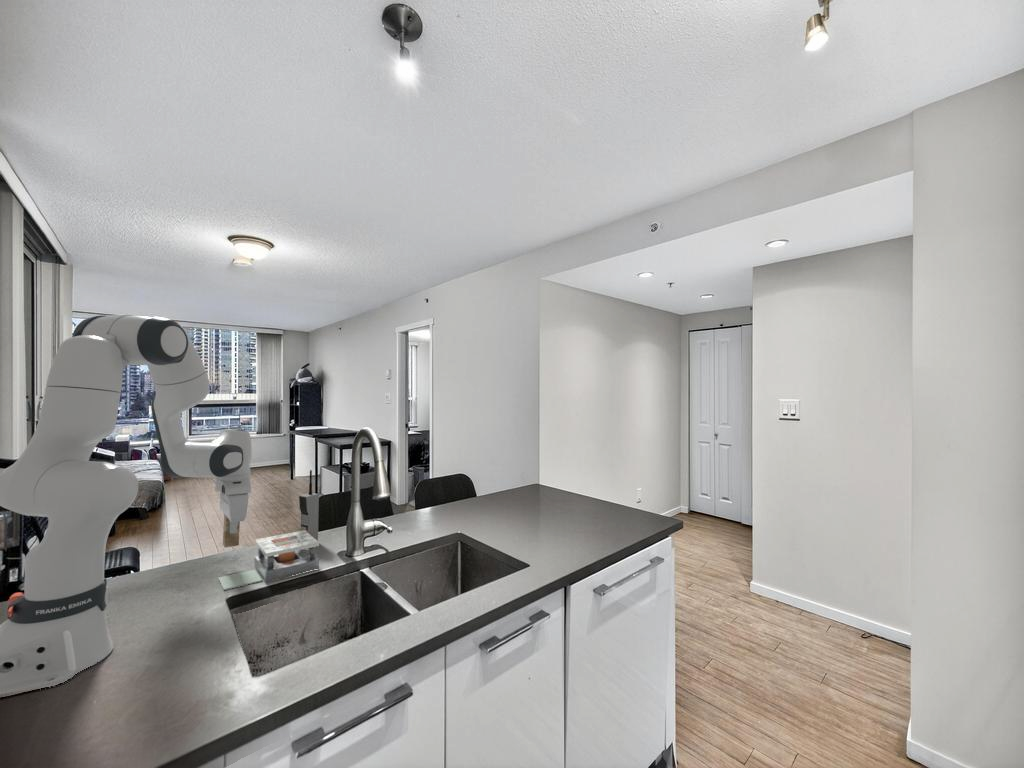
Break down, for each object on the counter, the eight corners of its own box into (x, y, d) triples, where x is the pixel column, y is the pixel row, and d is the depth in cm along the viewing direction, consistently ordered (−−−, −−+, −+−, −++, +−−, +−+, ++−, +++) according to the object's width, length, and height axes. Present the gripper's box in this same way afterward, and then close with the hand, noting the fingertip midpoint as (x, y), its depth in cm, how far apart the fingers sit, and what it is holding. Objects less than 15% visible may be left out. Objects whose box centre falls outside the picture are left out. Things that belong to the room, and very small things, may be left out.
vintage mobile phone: (297, 545, 152) (299, 470, 152) (310, 540, 156) (312, 468, 156) (305, 547, 150) (306, 472, 150) (318, 542, 154) (319, 469, 154)
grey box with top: (265, 582, 123) (266, 553, 123) (254, 566, 134) (254, 539, 134) (318, 569, 132) (319, 542, 132) (304, 555, 143) (304, 530, 143)
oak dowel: (224, 547, 130) (226, 516, 131) (222, 544, 133) (224, 513, 133) (238, 545, 133) (240, 514, 133) (236, 542, 135) (237, 512, 135)
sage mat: (223, 590, 118) (223, 589, 118) (218, 579, 125) (218, 577, 125) (262, 581, 124) (262, 579, 124) (255, 570, 131) (255, 569, 131)
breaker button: (280, 563, 130) (280, 549, 130) (276, 559, 133) (276, 545, 133) (296, 560, 133) (296, 546, 133) (292, 555, 136) (292, 542, 136)
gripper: (215, 479, 139) (213, 524, 139) (226, 490, 124) (224, 541, 123) (238, 477, 143) (237, 521, 143) (252, 487, 128) (250, 537, 127)
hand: (231, 530), depth 133 cm, fingers closed on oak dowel, 3 cm apart
